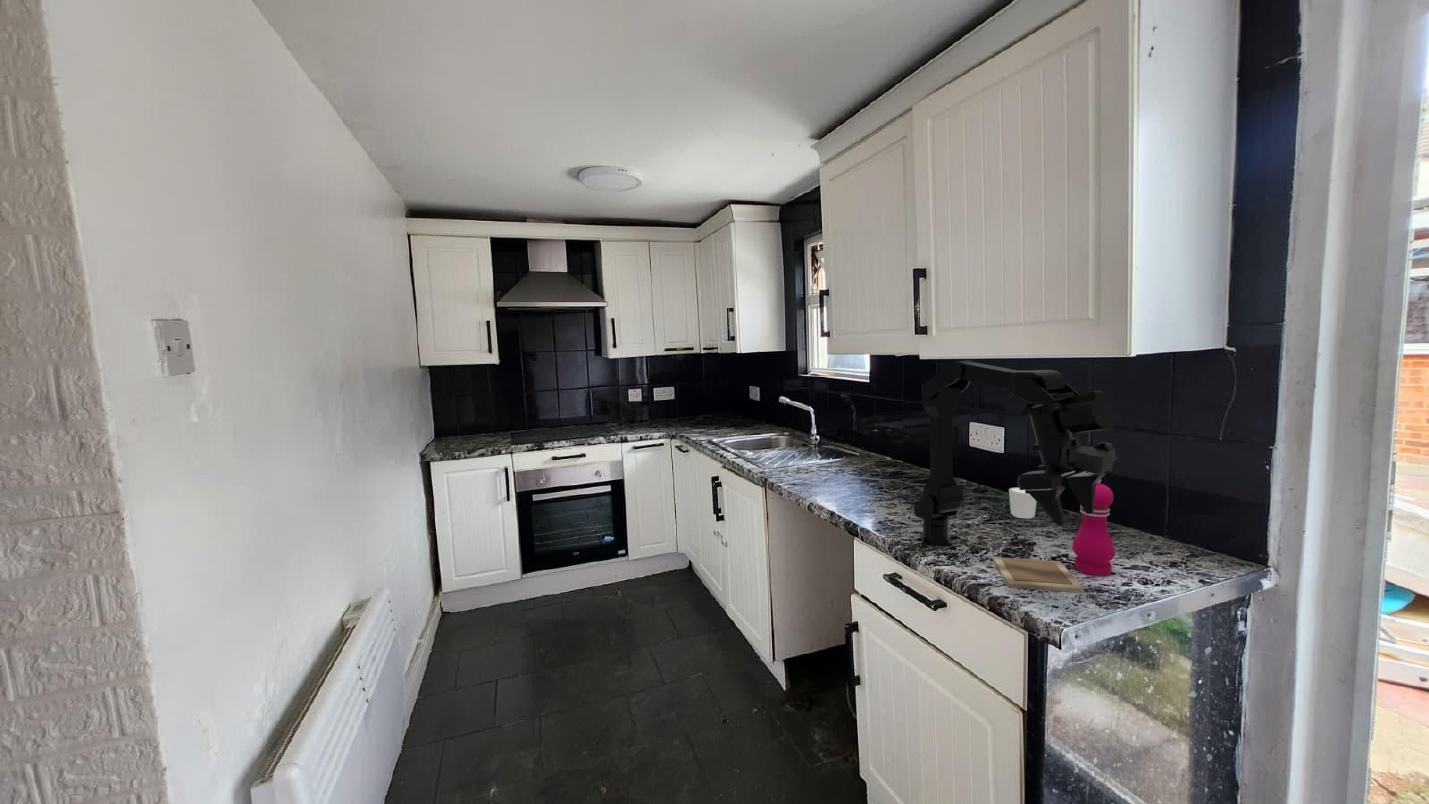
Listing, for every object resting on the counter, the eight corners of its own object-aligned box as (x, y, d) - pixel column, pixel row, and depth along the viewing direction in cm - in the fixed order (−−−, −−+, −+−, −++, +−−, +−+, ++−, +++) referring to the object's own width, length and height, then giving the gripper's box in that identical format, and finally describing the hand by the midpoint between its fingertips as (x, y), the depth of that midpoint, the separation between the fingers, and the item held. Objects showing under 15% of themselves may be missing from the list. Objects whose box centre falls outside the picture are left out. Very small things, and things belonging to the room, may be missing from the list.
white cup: (1043, 518, 141) (1043, 493, 141) (1017, 519, 141) (1017, 494, 141) (1028, 510, 148) (1028, 486, 147) (1003, 511, 148) (1003, 487, 148)
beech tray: (992, 560, 117) (992, 556, 117) (1059, 564, 113) (1060, 560, 113) (1008, 587, 104) (1008, 582, 104) (1084, 592, 101) (1084, 587, 101)
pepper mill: (1096, 561, 114) (1099, 470, 112) (1123, 576, 107) (1127, 479, 105) (1063, 563, 114) (1066, 472, 112) (1088, 578, 107) (1091, 481, 104)
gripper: (1066, 438, 88) (1092, 532, 86) (1127, 422, 96) (1152, 508, 95) (1006, 446, 98) (1028, 530, 96) (1066, 430, 106) (1087, 508, 105)
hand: (1075, 519), depth 98 cm, fingers open, 9 cm apart
